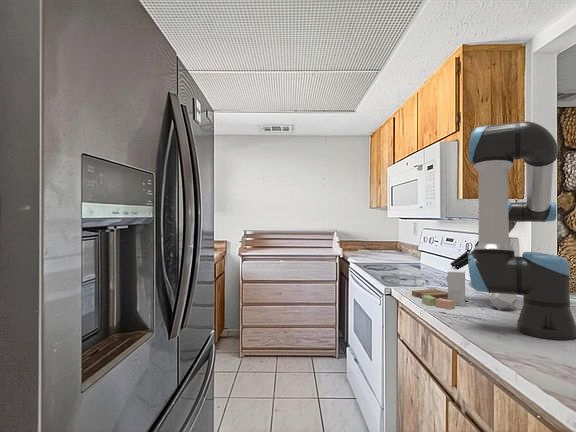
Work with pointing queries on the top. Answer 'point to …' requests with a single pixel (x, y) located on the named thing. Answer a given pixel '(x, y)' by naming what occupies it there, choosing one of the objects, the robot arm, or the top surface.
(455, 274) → the small box
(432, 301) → the olive brick
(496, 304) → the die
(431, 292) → the walnut slab
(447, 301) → the terracotta brick
